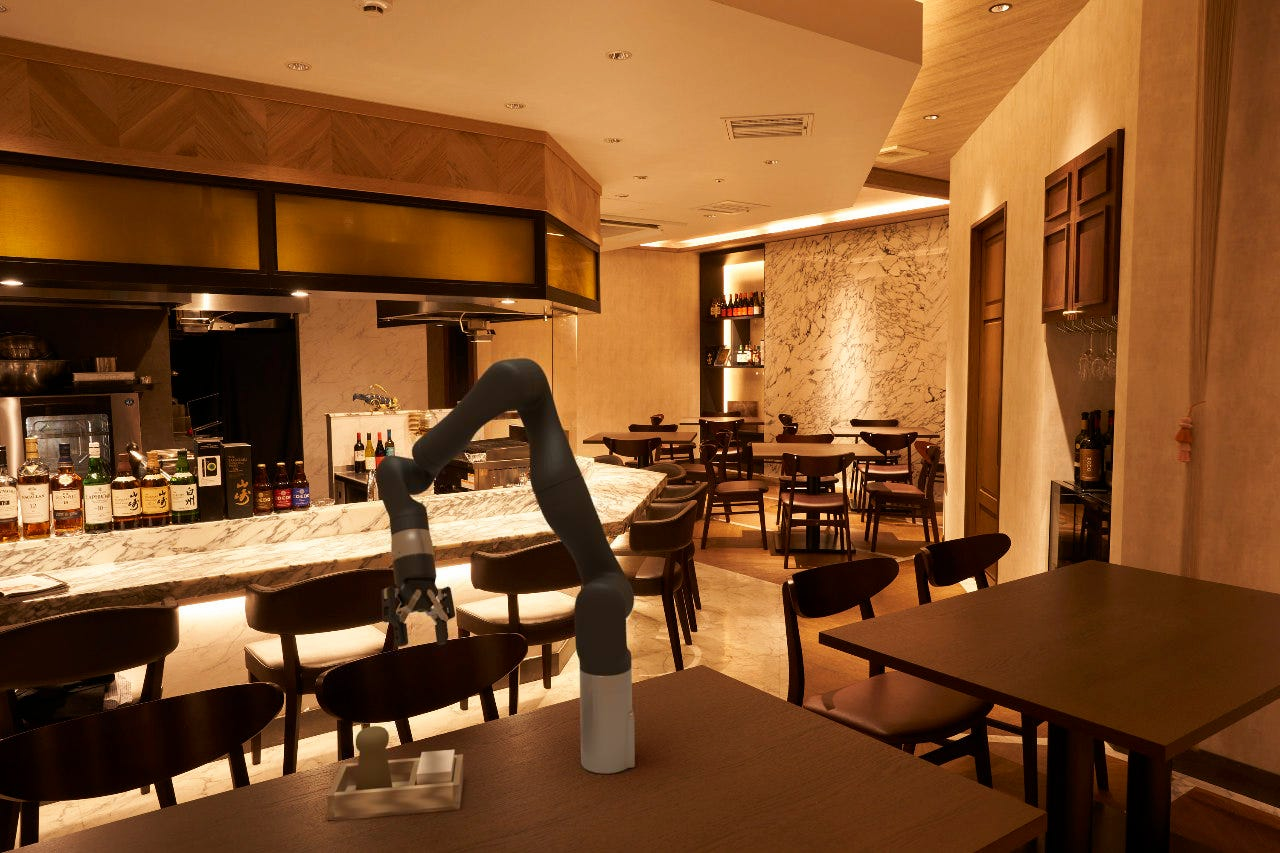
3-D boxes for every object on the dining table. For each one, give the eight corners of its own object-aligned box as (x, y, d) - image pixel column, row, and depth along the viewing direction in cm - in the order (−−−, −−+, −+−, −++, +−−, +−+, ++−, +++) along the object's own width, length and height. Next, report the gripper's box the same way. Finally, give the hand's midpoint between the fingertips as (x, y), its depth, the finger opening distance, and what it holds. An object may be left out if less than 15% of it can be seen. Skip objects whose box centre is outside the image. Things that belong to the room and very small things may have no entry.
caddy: (463, 777, 141) (462, 745, 141) (459, 809, 130) (458, 774, 130) (342, 787, 138) (341, 754, 138) (328, 821, 127) (327, 785, 127)
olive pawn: (381, 806, 131) (379, 738, 130) (347, 802, 132) (344, 735, 131) (400, 787, 136) (398, 723, 136) (367, 784, 138) (365, 720, 137)
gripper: (392, 549, 146) (402, 641, 140) (456, 553, 157) (467, 638, 151) (368, 562, 150) (376, 651, 144) (431, 564, 161) (442, 647, 155)
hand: (423, 644), depth 148 cm, fingers open, 8 cm apart
